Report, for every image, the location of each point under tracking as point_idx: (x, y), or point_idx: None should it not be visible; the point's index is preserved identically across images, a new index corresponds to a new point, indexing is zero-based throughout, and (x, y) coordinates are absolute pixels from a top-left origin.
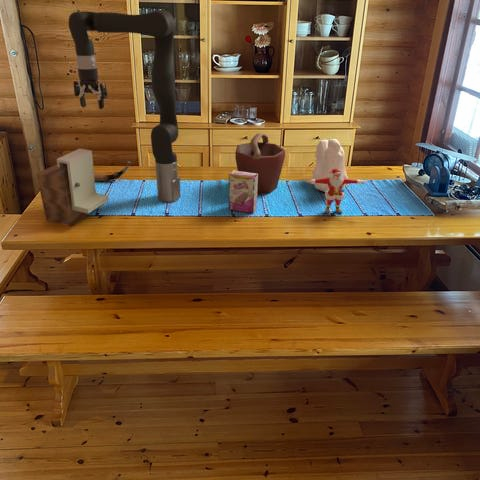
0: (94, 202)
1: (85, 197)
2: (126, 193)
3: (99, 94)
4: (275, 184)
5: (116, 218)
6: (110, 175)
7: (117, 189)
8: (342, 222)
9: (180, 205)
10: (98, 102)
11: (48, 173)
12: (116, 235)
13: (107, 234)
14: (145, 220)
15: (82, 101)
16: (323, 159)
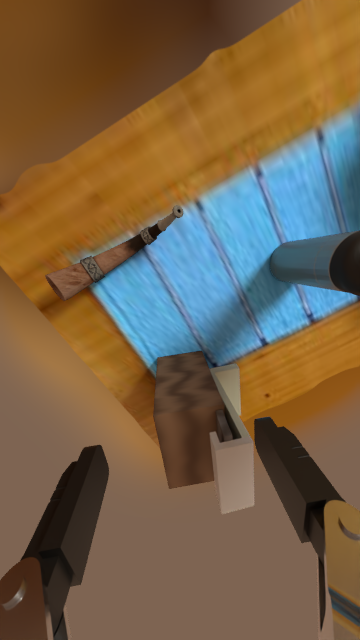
0: (235, 396)
1: None
2: (206, 282)
3: (350, 613)
4: None
5: (248, 362)
6: (137, 245)
7: (179, 274)
8: None
9: None
10: (285, 508)
11: (188, 479)
12: (274, 395)
13: (263, 398)
14: (289, 348)
15: (92, 533)
16: None
